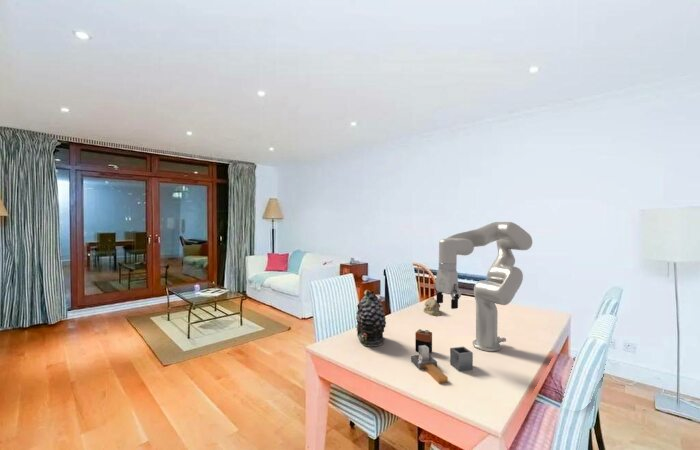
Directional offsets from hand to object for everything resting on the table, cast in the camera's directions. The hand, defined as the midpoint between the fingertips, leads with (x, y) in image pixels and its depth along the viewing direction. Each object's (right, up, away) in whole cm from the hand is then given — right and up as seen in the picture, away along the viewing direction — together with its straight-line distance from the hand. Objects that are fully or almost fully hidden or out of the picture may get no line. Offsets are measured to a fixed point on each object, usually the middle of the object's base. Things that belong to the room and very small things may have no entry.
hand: (446, 305), depth 141 cm
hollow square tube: (+4, -24, -8) cm, 25 cm away
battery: (-8, -24, +8) cm, 26 cm away
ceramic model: (+12, -22, +69) cm, 74 cm away
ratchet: (-10, -24, -11) cm, 28 cm away
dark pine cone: (-32, -23, +22) cm, 45 cm away
